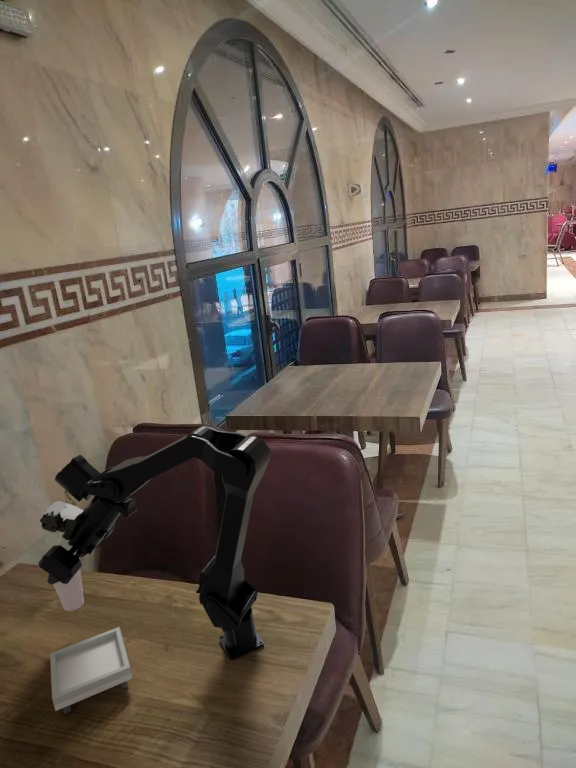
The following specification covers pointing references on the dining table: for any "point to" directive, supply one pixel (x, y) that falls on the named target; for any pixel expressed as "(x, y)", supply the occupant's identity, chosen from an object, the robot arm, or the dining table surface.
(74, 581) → the smoothie
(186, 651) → the dining table surface
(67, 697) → the shallow square tray
